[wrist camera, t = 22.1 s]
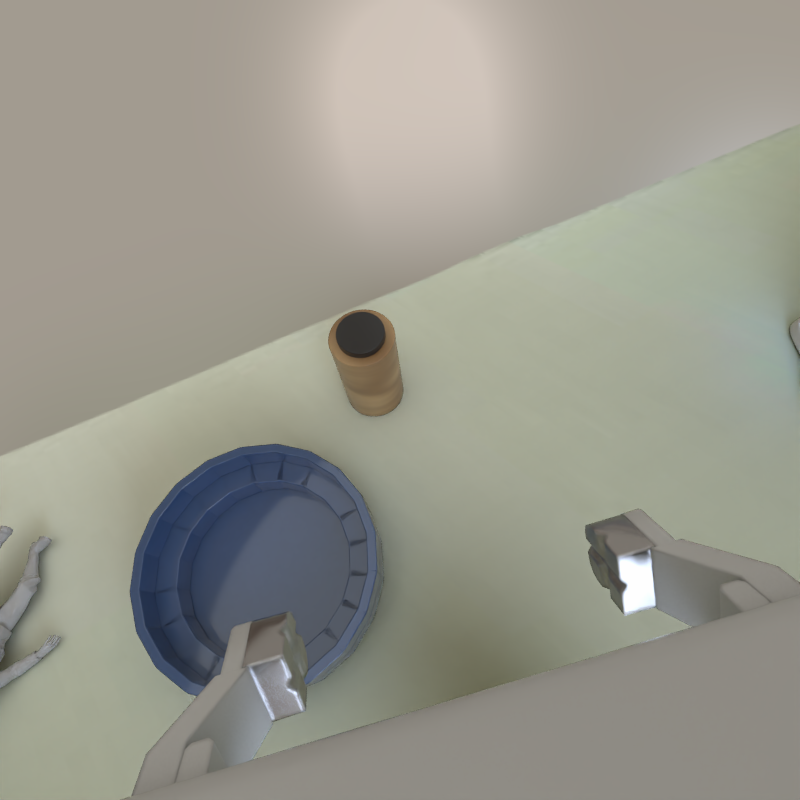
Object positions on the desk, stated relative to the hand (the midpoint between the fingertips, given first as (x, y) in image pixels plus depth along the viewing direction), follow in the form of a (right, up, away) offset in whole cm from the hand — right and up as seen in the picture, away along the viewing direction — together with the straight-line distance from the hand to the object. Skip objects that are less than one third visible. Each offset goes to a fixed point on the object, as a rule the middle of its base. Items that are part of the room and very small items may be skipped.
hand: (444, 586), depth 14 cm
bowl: (-10, -7, +22) cm, 25 cm away
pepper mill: (-3, +6, +28) cm, 28 cm away
